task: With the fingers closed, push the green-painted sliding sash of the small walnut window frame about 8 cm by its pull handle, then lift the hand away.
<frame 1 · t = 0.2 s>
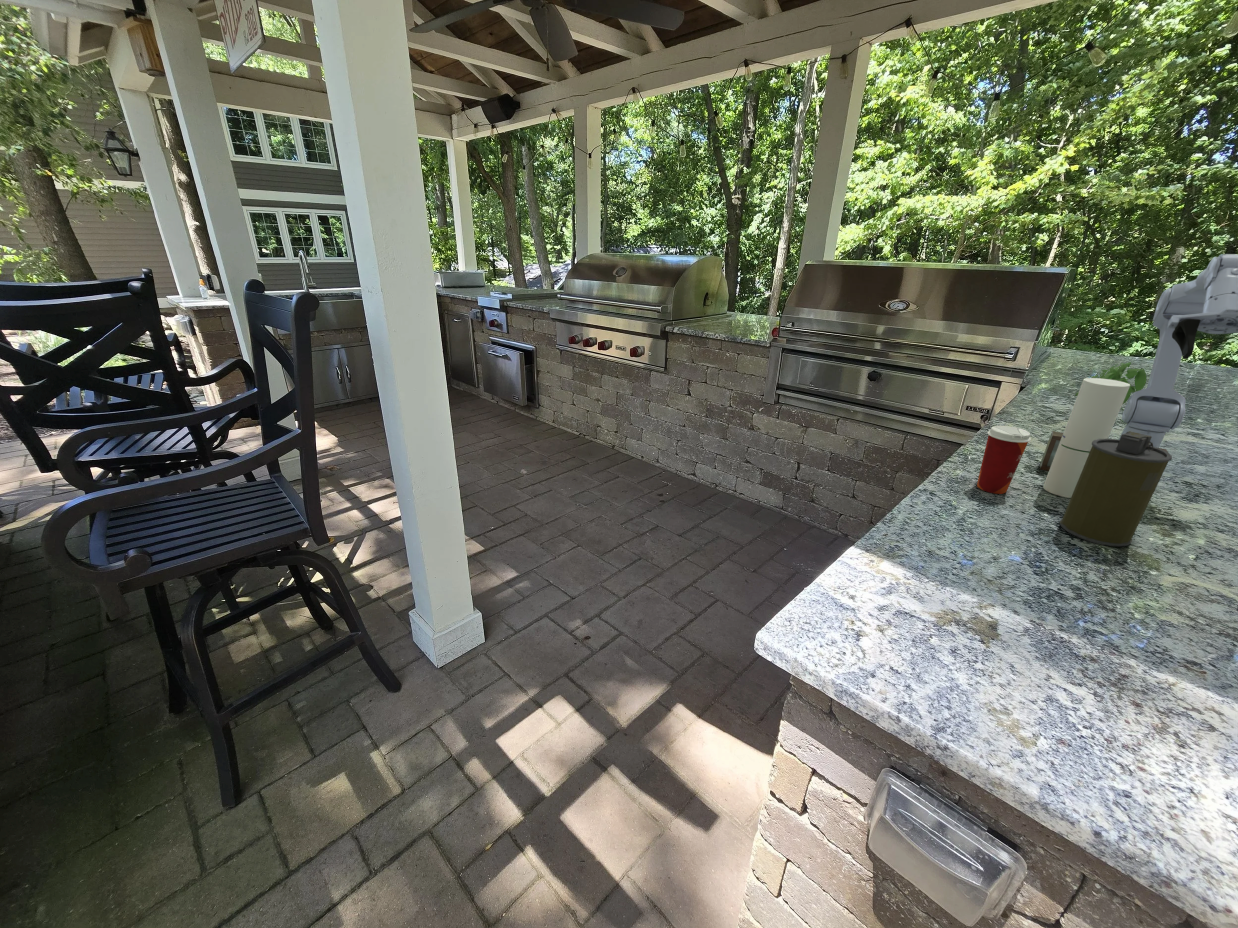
hand: (1215, 358, 97), 31 cm above the counter, tool tilted 45°, fingers open, 7 cm apart
paper cup: (991, 489, 114), on the counter
plant cuttings: (1110, 425, 154), on the counter
window frame: (1092, 477, 119), on the counter
cylindrical container: (1062, 491, 112), on the counter
window sash: (1123, 459, 118), point 5 cm above the counter, slide at 0.0 cm
canister: (1094, 532, 96), on the counter
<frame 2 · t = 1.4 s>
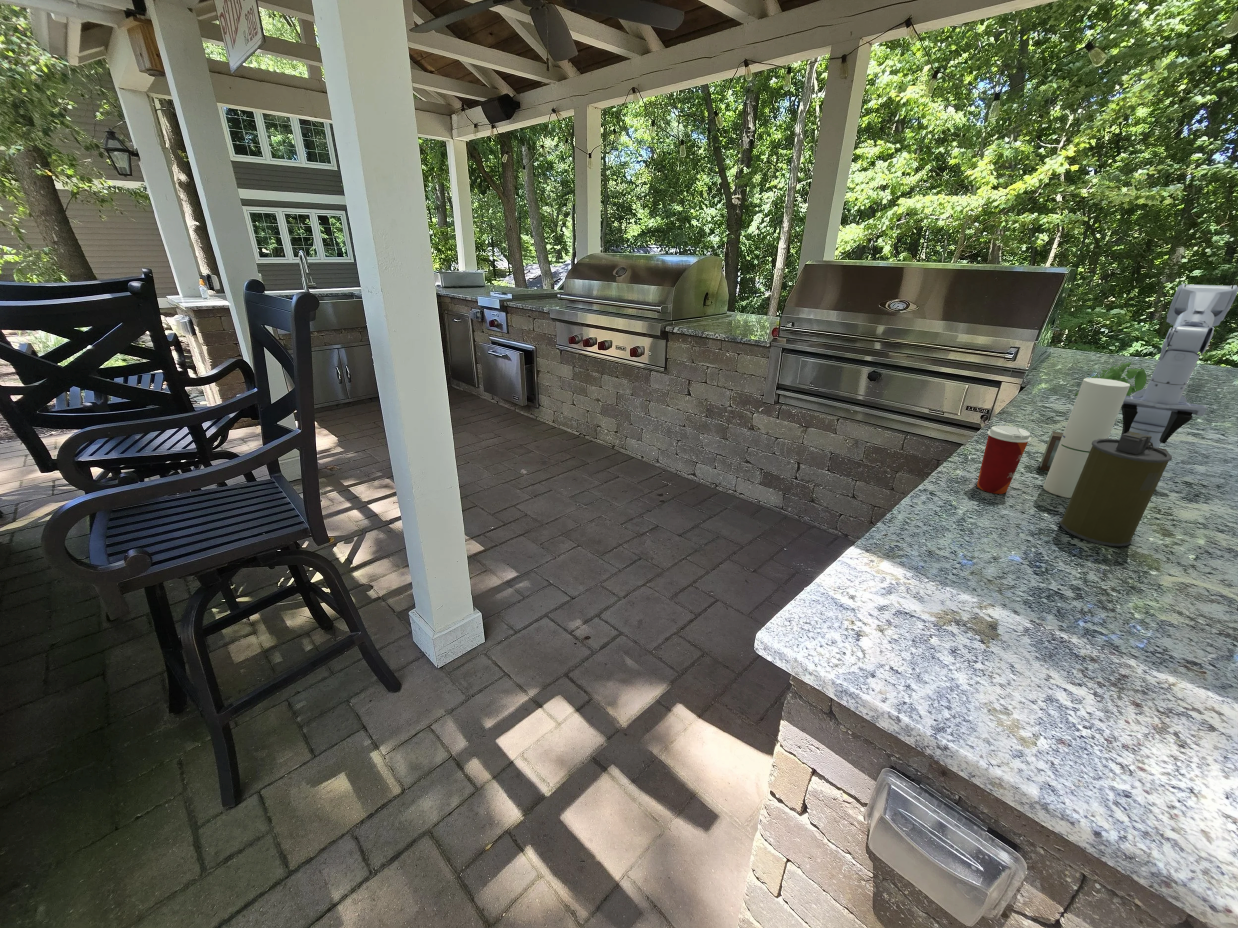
hand: (1142, 439, 116), 9 cm above the counter, tool pointing down, fingers open, 6 cm apart
nothing on the counter moved.
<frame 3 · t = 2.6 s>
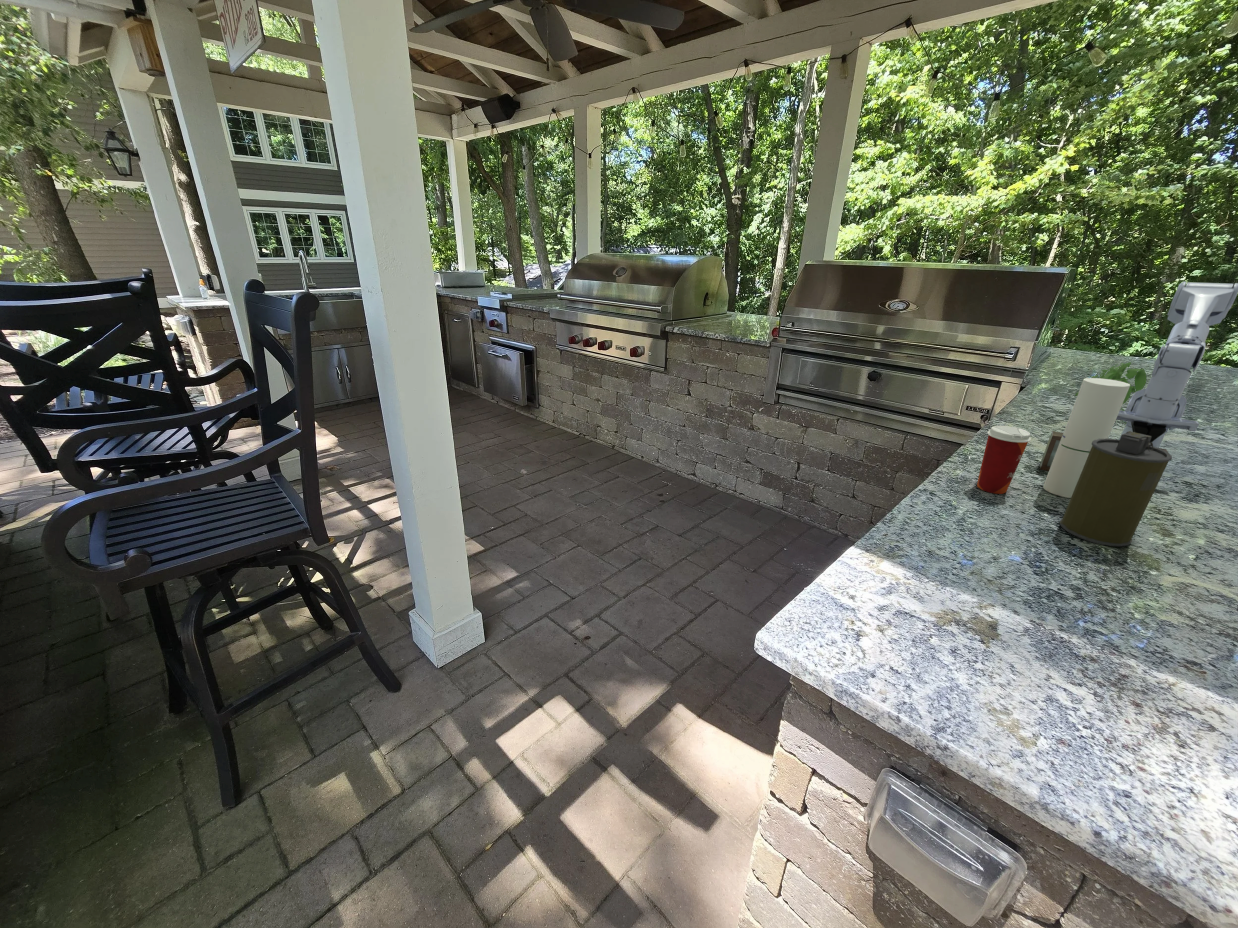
hand: (1135, 453, 118), 6 cm above the counter, tool pointing down, fingers closed
nothing on the counter moved.
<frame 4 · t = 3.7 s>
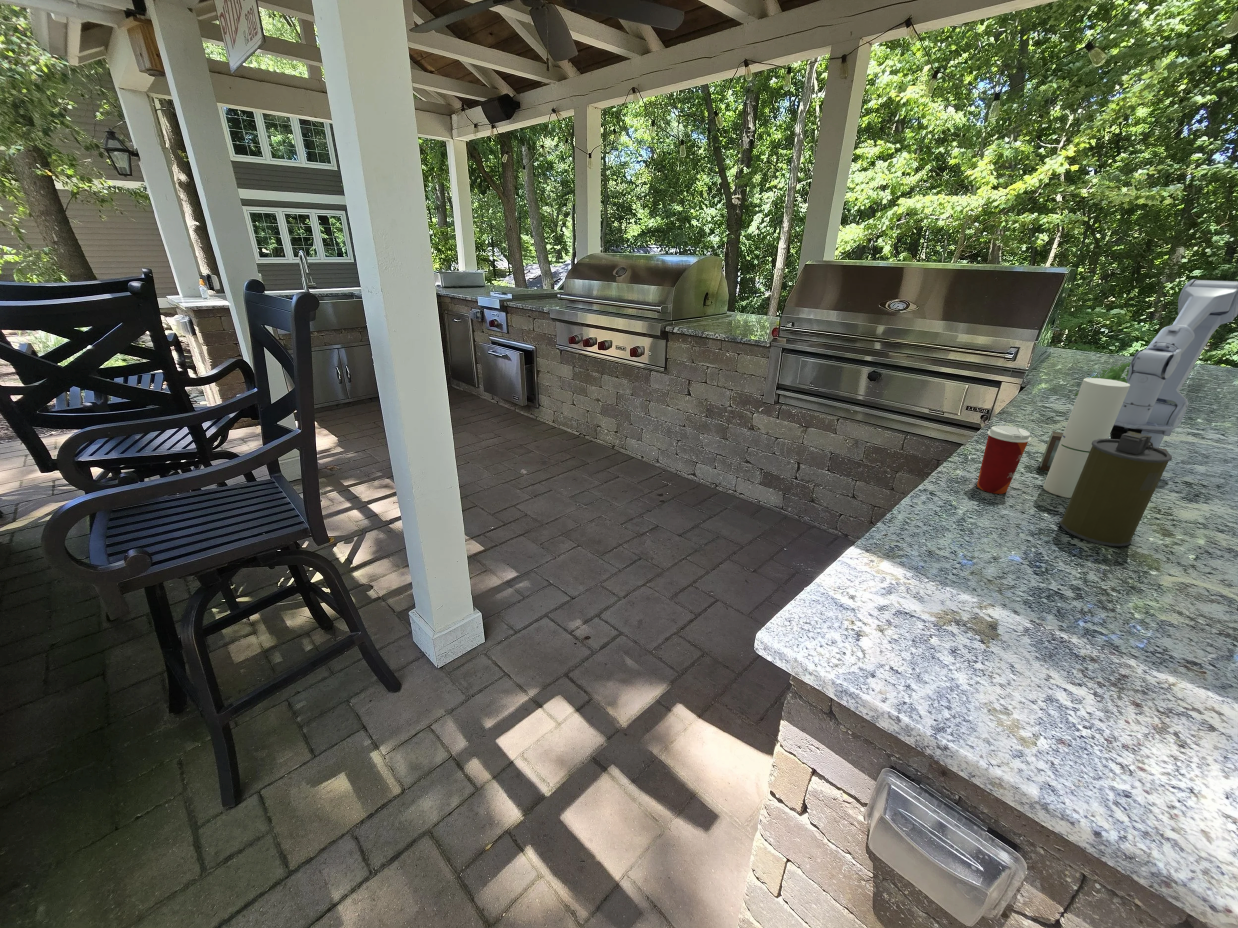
hand: (1113, 457, 120), 4 cm above the counter, tool pointing down, fingers closed
window sash: (1118, 458, 118), point 5 cm above the counter, slide at 0.8 cm, touching gripper
everything else where it was.
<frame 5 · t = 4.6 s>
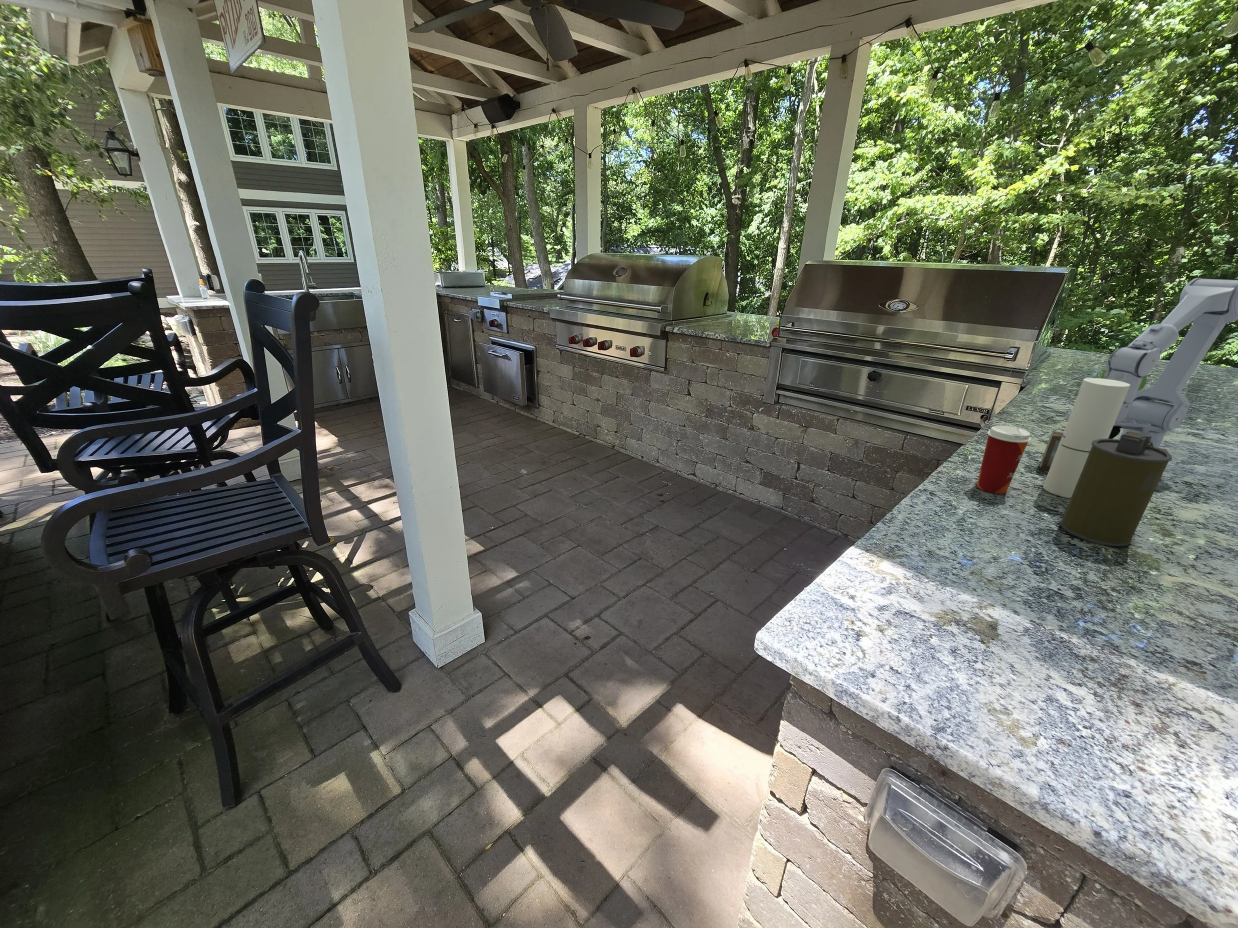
hand: (1093, 453, 122), 4 cm above the counter, tool pointing down, fingers closed
window sash: (1098, 455, 120), point 4 cm above the counter, slide at 4.4 cm, touching gripper
everything else where it was.
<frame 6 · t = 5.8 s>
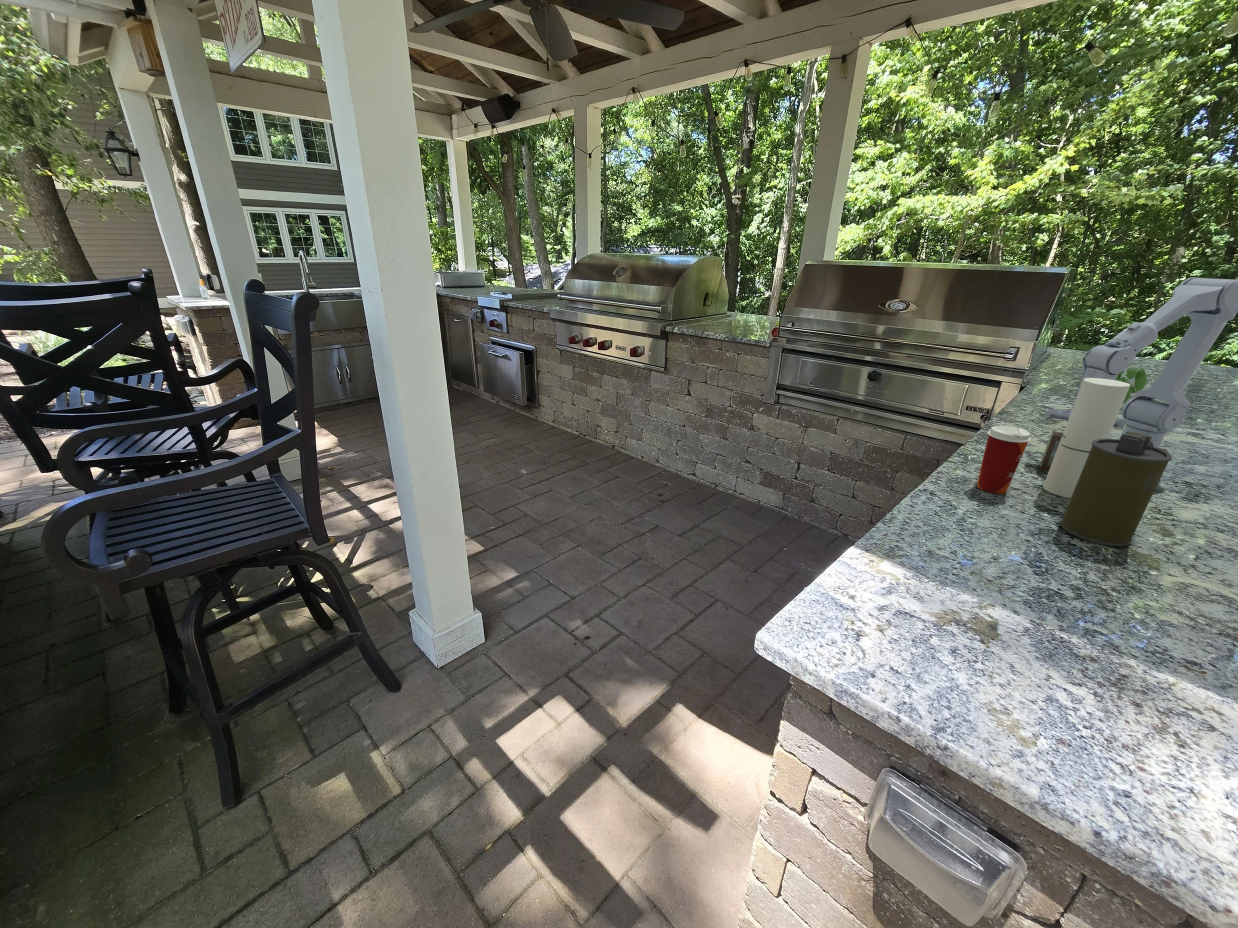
hand: (1071, 450, 124), 4 cm above the counter, tool pointing down, fingers closed
window sash: (1076, 451, 122), point 5 cm above the counter, slide at 8.5 cm, touching gripper
everything else where it was.
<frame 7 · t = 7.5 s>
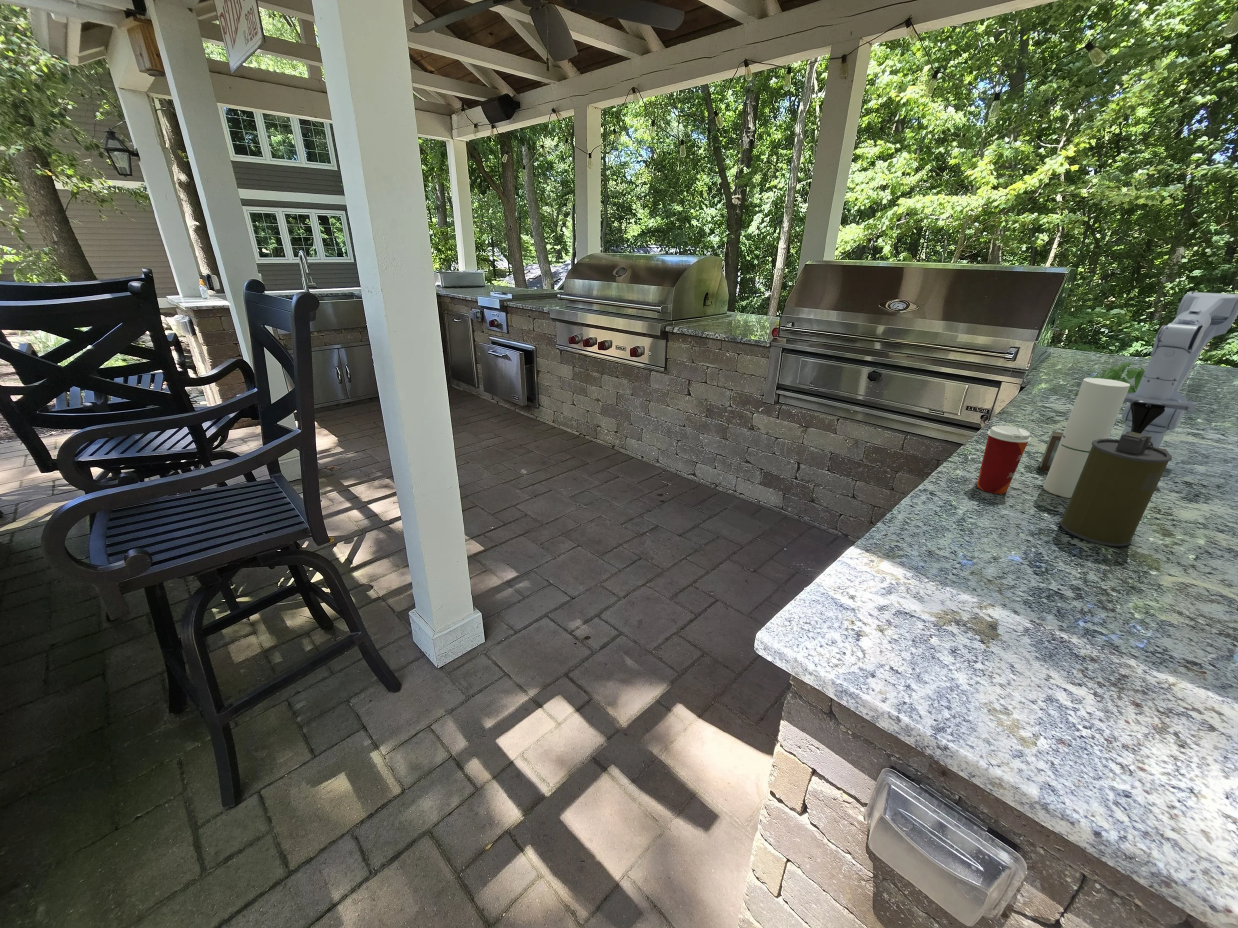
hand: (1134, 434, 119), 9 cm above the counter, tool pointing down, fingers closed
window sash: (1076, 451, 122), point 4 cm above the counter, slide at 8.5 cm
everything else where it was.
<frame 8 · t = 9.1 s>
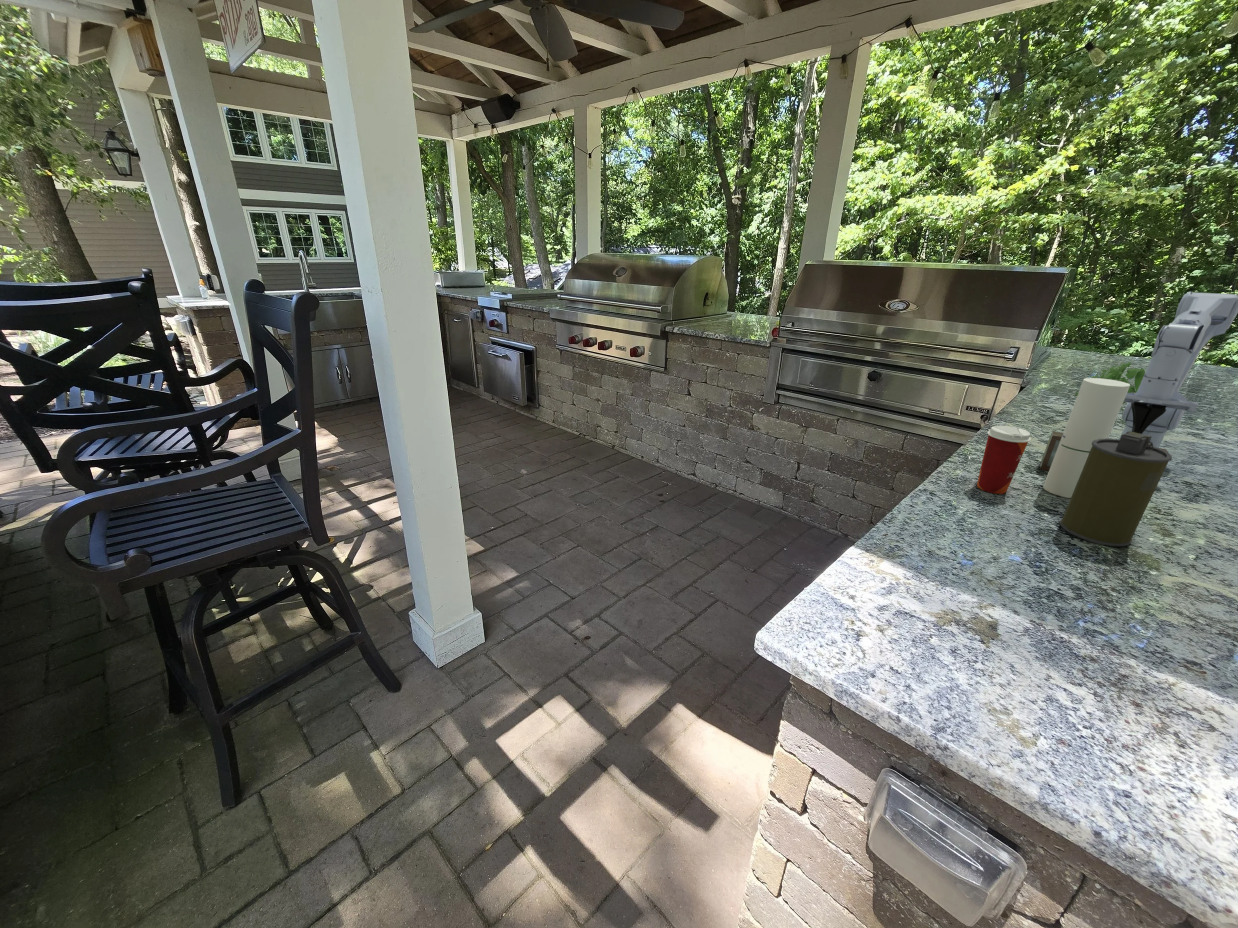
hand: (1135, 434, 119), 9 cm above the counter, tool pointing down, fingers closed
nothing on the counter moved.
at the end: window sash slide at 8.5 cm; the gripper is holding nothing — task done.
